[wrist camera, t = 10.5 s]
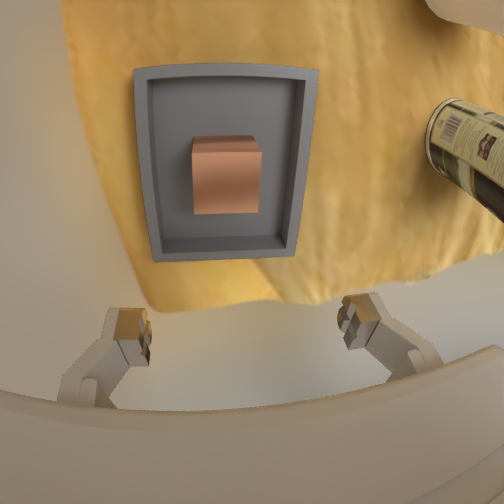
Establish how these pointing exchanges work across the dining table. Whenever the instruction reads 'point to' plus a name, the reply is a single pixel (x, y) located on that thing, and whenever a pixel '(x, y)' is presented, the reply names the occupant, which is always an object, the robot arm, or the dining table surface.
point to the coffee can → (469, 150)
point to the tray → (223, 123)
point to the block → (226, 174)
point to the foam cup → (472, 13)
